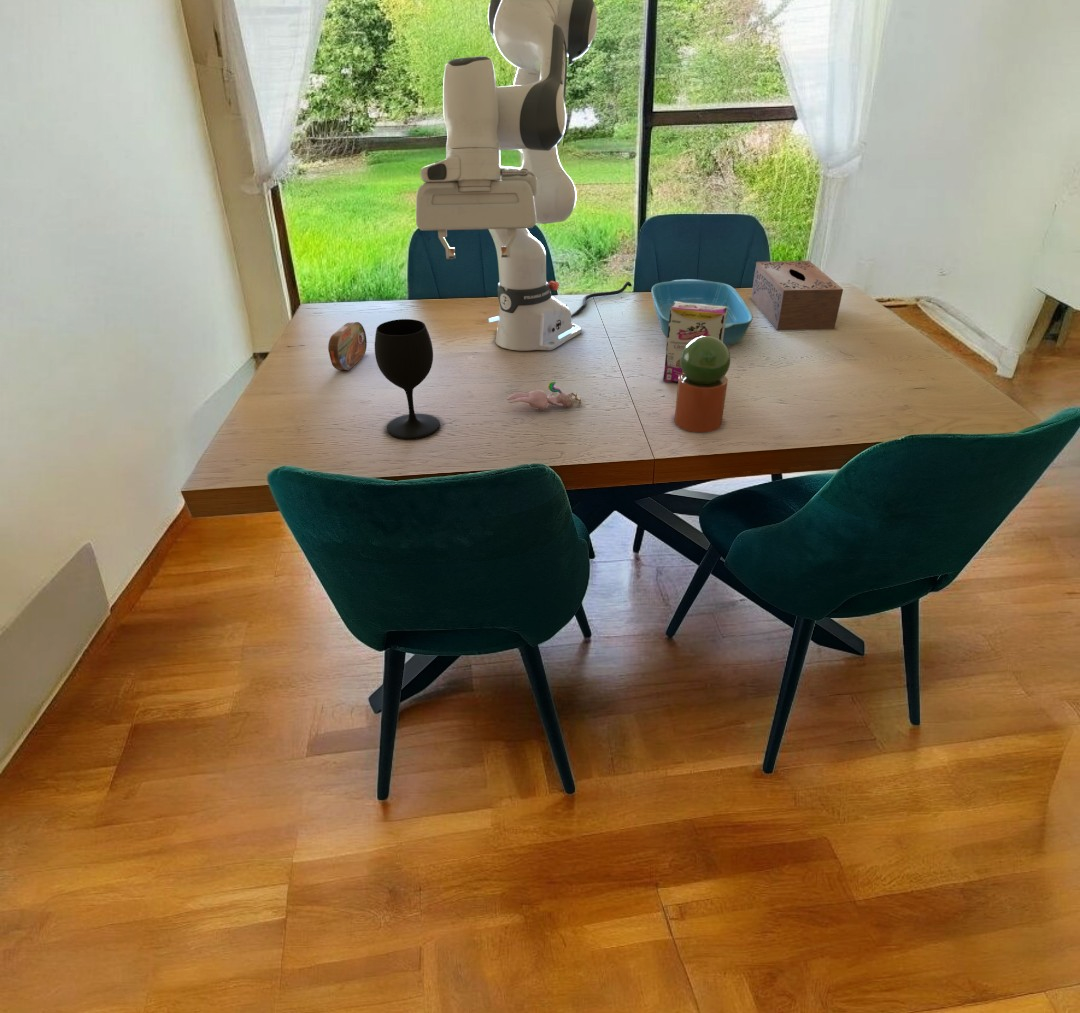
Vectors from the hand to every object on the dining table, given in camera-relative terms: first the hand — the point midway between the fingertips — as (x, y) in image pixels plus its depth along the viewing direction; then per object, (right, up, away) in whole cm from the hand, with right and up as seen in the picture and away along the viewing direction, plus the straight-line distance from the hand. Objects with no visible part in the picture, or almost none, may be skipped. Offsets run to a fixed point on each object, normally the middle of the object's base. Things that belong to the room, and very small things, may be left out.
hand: (478, 258), depth 124 cm
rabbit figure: (+11, -23, +21) cm, 34 cm away
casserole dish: (+51, +3, +59) cm, 78 cm away
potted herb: (+41, -26, +15) cm, 51 cm away
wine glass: (-14, -28, +15) cm, 35 cm away
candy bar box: (+43, -16, +31) cm, 56 cm away
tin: (-33, -10, +43) cm, 55 cm away
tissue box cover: (+77, +9, +67) cm, 103 cm away
